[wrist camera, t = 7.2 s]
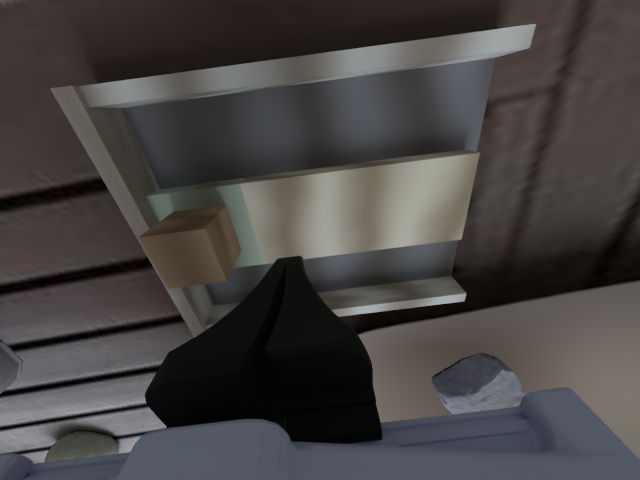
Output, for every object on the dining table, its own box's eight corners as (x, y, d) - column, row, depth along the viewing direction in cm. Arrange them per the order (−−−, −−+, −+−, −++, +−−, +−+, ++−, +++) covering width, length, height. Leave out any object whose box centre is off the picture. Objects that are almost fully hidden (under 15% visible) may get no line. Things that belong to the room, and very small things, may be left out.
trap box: (207, 310, 25) (194, 337, 22) (100, 93, 15) (50, 88, 12) (447, 281, 24) (466, 304, 22) (495, 39, 15) (542, 21, 12)
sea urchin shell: (28, 453, 35) (13, 501, 29) (88, 402, 39) (85, 435, 33) (81, 473, 39) (77, 518, 33) (130, 425, 43) (134, 458, 37)
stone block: (475, 335, 32) (422, 380, 34) (508, 364, 28) (446, 415, 29) (505, 366, 37) (458, 405, 38) (537, 395, 33) (483, 437, 34)
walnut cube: (193, 256, 19) (167, 289, 15) (173, 211, 17) (138, 237, 13) (241, 250, 19) (226, 281, 15) (226, 204, 17) (205, 228, 13)
